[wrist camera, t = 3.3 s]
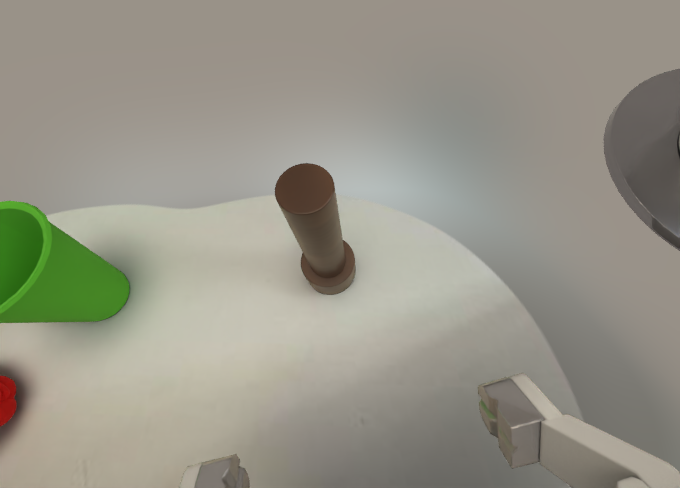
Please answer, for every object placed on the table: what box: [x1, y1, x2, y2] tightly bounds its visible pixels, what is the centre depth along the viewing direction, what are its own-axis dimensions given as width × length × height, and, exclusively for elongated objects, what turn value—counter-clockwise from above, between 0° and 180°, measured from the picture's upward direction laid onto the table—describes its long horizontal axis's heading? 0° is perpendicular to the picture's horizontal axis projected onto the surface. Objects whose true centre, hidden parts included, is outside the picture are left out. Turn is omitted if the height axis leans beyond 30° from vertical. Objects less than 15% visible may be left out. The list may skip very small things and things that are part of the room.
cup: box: [0, 201, 130, 323], centre depth 26 cm, size 9×9×11 cm
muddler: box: [275, 163, 355, 295], centre depth 24 cm, size 5×5×15 cm
